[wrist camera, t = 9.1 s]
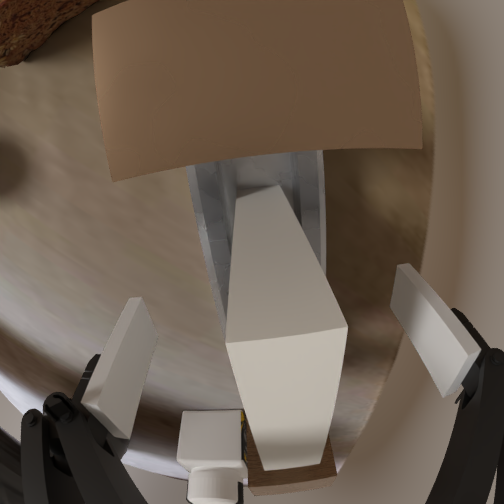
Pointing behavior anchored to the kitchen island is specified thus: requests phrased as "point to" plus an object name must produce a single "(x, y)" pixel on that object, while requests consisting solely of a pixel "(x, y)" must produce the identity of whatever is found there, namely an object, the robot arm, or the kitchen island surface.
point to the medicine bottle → (214, 455)
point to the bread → (32, 24)
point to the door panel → (282, 331)
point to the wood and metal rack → (253, 117)
